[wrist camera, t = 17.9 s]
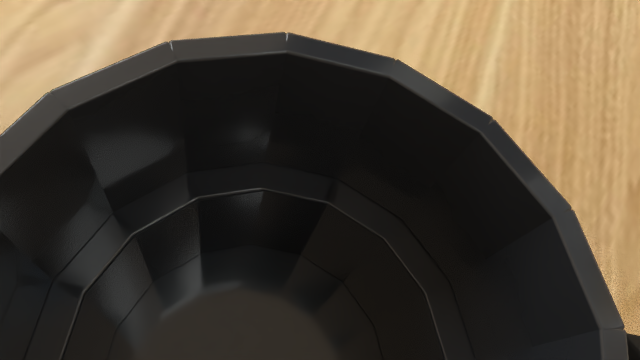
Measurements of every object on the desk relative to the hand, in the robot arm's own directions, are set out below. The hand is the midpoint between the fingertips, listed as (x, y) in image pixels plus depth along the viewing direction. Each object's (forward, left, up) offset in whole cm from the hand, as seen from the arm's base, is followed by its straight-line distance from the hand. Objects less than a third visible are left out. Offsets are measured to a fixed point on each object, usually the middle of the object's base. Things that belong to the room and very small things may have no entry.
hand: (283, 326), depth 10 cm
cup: (0, +1, -8) cm, 8 cm away
